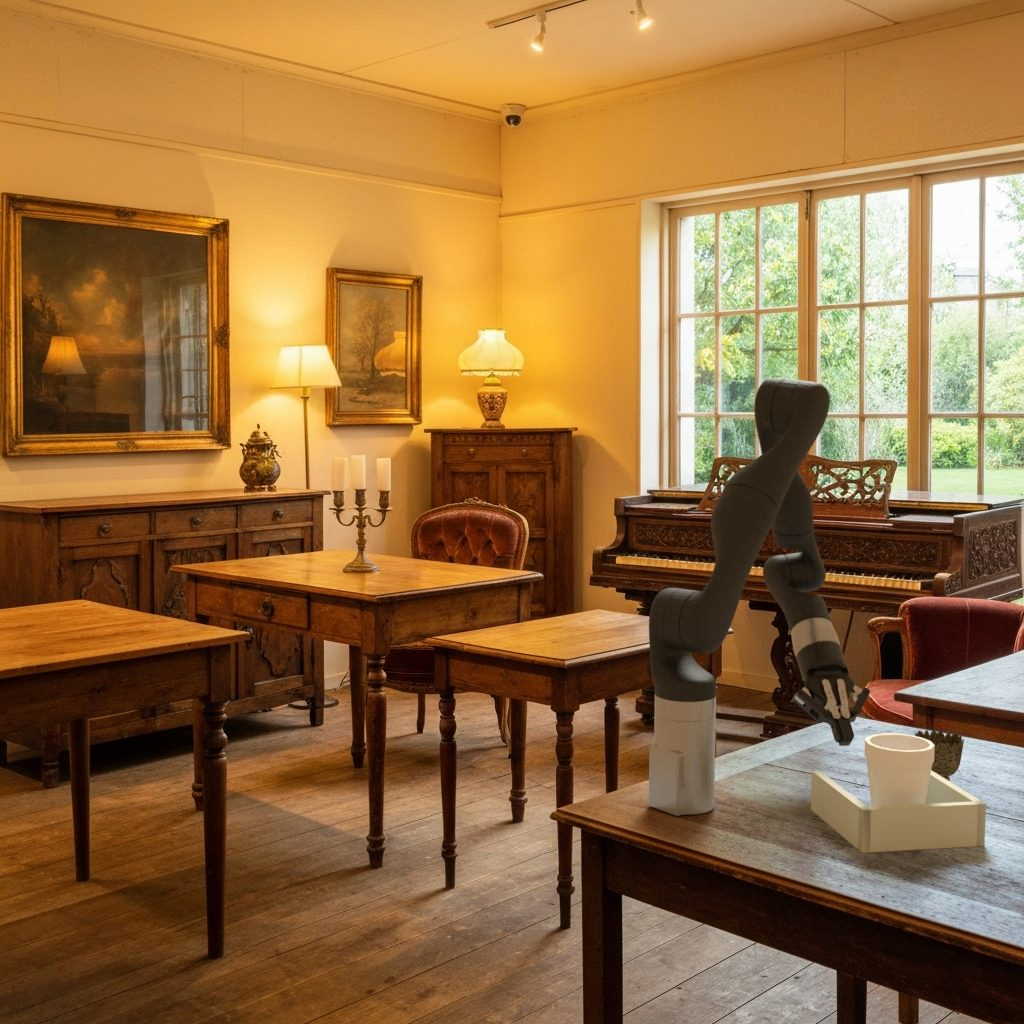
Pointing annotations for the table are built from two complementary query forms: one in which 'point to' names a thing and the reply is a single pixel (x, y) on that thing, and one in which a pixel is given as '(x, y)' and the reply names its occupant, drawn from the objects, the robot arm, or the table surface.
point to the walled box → (902, 818)
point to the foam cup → (898, 768)
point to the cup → (944, 752)
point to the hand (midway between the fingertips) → (846, 743)
